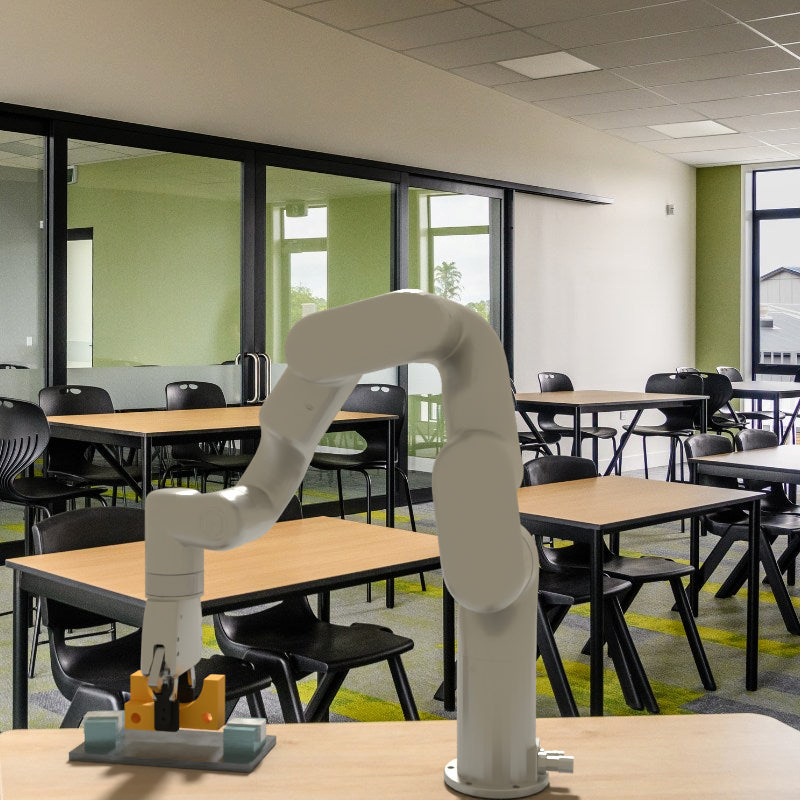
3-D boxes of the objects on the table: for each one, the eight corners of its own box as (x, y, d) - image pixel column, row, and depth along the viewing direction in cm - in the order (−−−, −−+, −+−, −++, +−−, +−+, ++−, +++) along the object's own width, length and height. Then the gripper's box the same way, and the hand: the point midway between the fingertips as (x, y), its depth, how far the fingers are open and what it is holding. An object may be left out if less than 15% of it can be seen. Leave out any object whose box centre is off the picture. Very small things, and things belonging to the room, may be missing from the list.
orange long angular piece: (124, 728, 139) (124, 679, 139) (138, 718, 143) (138, 670, 143) (213, 734, 137) (213, 684, 136) (224, 724, 141) (225, 675, 141)
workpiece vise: (276, 743, 143) (276, 709, 143) (249, 772, 132) (249, 736, 132) (106, 732, 147) (106, 699, 147) (67, 760, 137) (67, 724, 137)
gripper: (172, 571, 148) (172, 703, 149) (119, 596, 132) (119, 744, 132) (224, 573, 147) (224, 706, 147) (177, 598, 130) (177, 748, 131)
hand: (174, 722), depth 140 cm, fingers closed on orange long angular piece, 4 cm apart
